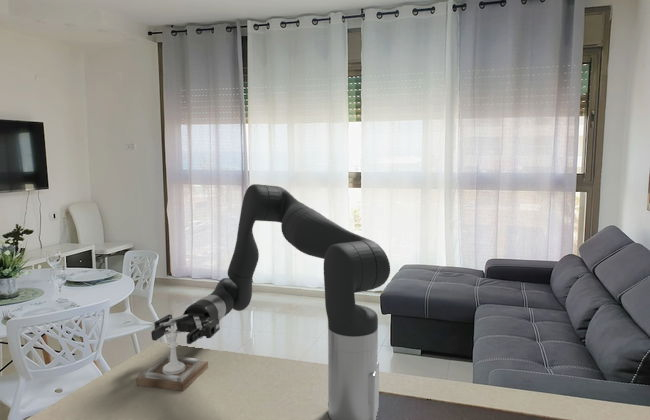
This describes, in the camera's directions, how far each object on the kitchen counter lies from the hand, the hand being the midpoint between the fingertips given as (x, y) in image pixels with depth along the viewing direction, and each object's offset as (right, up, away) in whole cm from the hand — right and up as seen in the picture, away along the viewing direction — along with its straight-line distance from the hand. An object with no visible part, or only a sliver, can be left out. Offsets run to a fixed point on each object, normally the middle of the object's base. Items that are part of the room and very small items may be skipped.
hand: (170, 338), depth 105 cm
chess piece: (0, -8, +2) cm, 8 cm away
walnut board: (0, -9, +2) cm, 9 cm away
